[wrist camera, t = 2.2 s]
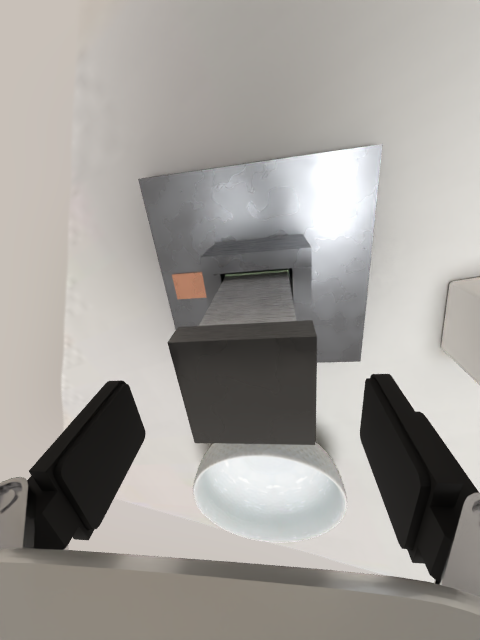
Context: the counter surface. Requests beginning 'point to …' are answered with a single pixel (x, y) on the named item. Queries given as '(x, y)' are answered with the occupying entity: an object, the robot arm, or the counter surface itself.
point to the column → (249, 365)
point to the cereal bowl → (270, 491)
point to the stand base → (273, 236)
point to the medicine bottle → (463, 325)
